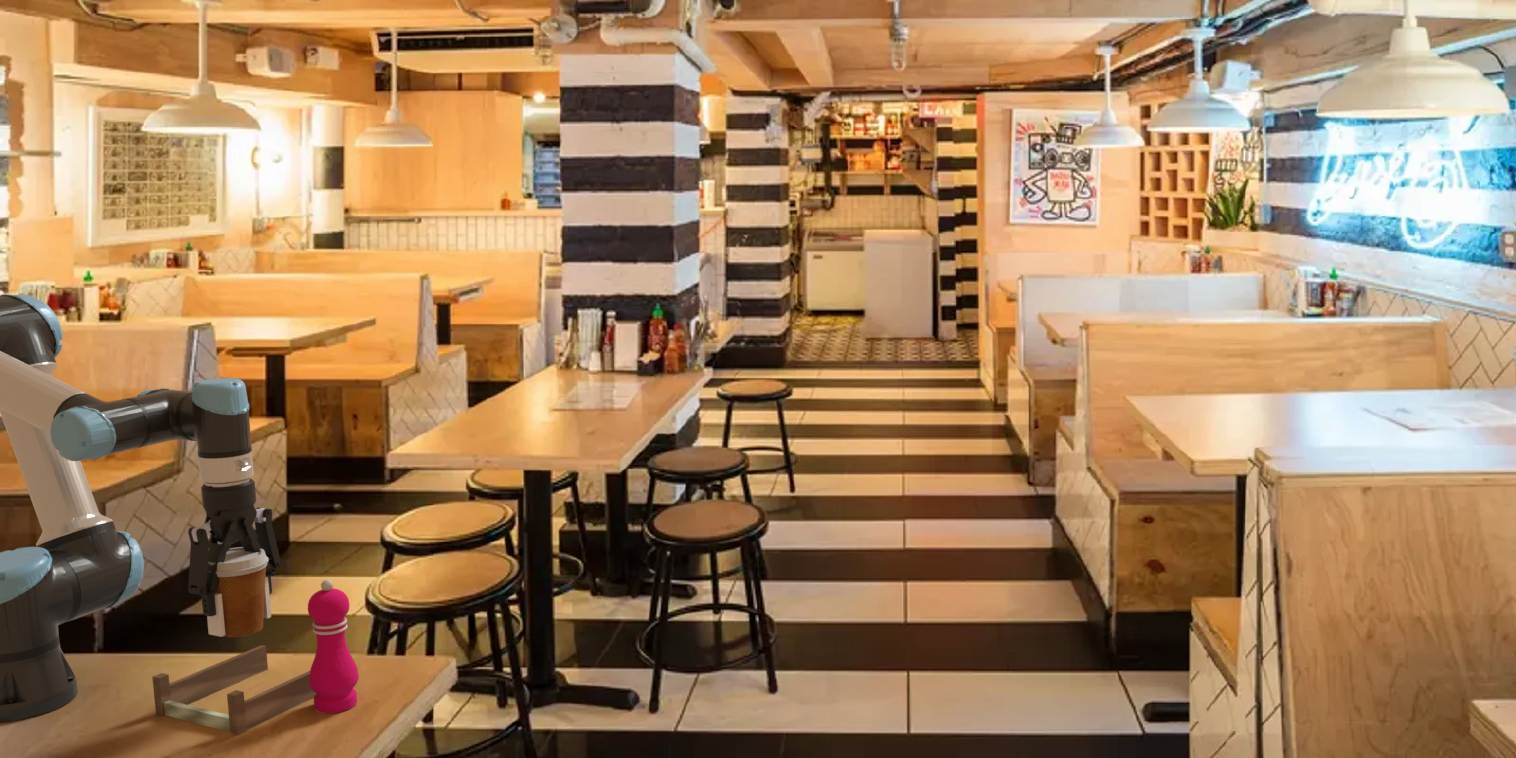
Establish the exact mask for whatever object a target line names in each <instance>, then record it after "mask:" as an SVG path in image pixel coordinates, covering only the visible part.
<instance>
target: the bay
mask: <svg viewBox="0 0 1516 758" xmlns="http://www.w3.org/2000/svg"><path fill="white" fill-rule="evenodd" d="M267 652H268V651H267V645H265V644H264V645H262V644H261V645H258V646H256V647H253V648H251V649H248V650H247V651H245V652H242V653H239V654H236V655H235V656H232V657H229V658H227V659H225V660H223V661H220V662H218V663H216V664H212V665H210V666H209V667H206V668H203V669H201V670H199V671H196V672H194V673H191V674H189V675H186V676H184V677H182V678H179V679H177V680H175V681H172V682H170V675H169V674H168V673H162V672H160V673H158V674H155V675H152V677H151V678H152V688H153V698H154V707H155V710H154V711H155V715H156V716H162V717H164V716H166V717H171V718H174V719H178V720H182V721H187V722H189V723H193V724H197V725H201V726H206V727H210V728H214V729H218V730H222V731H226V732H229V733H230V734H233V735H235V736H239V735H242V734H243V733H245V732H247V730H249V729H252V728H253V727H256V726H258V725H260V724H261V723H263V722H266V721H267V720H269V719H271V718H274V717H276V716H279V715H280V714H283V713H284V712H287V711H288V710H291V709H293V708H295V707H297V706H298V705H300V704H302V703H305V702H307V701H309V700H312V699H314V696H315V695H316V694H317V693H315V692H314V691H313V690H312V689H311V687H310V685H309V674H310V670H308V671H306V672H304V673H302V674H300V675H298V676H295V677H292V678H291V679H288V680H287V681H284V682H282V683H280V684H277V685H276V686H275V685H274V686H273V687H271V688H269V689H267V690H265V691H263V692H260V693H259V694H255V695H254V696H252V697H249V698H247V699H245V692H244V691H243V690H237V689H236V690H233V691H230V692H229V693H226V697H227V698H226V699H227V709H228V714H227V713H223V712H218V711H214V710H211V709H206V708H202V707H199V706H198V707H197V706H194V705H190V704H192V703H195V702H197V701H199V700H201V699H202V698H205V697H208V696H210V695H212V694H215V693H217V692H219V691H221V690H223V689H225V688H228V687H230V686H232V685H235V684H237V683H240V682H241V681H244V680H246V679H249V678H251V677H253V676H255V674H256V675H257V674H260V673H262V672H264V671H267V670H268V669H269V668H268V667H269V666H268V665H269V664H268V653H267ZM257 724H258V725H257ZM255 725H256V726H255Z"/></svg>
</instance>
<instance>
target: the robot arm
mask: <svg viewBox="0 0 1516 758" xmlns="http://www.w3.org/2000/svg"><path fill="white" fill-rule="evenodd" d="M63 339H64V334H63V329H62V325H61V324H60V321H59V318H58V317H57V315H56V314H55V312H54V311H53V309H52V308H51V307H50V306H49V305H48V304H47V303H45V302H44V301H43V300H41V299H38V298H37V297H35V296H34V295H28V294H9V293H8V294H7V293H6V294H5V293H4V294H0V416H1V419H2V422H3V424H4V427H5V430H6V433H7V436H8V439H9V443H10V444H11V448H12V450H13V453H14V456H15V459H16V461H17V464H18V467H19V469H20V472H21V476H22V478H23V480H24V483H25V486H26V489H27V493H28V494H29V497H30V500H31V503H32V506H33V508H34V511H35V514H36V516H37V520H38V523H39V525H40V529H41V530H42V532H41V534H40V536H39V538H38V539H37V540H38V541H37V542H36V543H35V545H36V546H25V547H24V546H23V547H17V548H16V549H14V550H9V549H8V550H4V551H1V552H0V722H1V723H2V722H11V721H16V720H23V719H28V718H32V717H36V716H40V715H43V714H46V713H49V712H52V711H55V710H56V709H59V708H62V707H63V706H65V705H67V704H68V703H70V702H72V701H73V700H74V699H75V698H76V696H77V695H78V683H77V677H76V675H75V674H74V671H73V669H72V668H71V666H70V663H69V661H68V659H67V658H66V656H65V654H64V652H63V651H62V648H61V643H60V636H59V635H60V634H59V626H60V625H62V624H64V623H67V622H70V621H73V620H77V619H79V618H82V617H85V616H87V615H90V614H93V613H95V612H99V611H101V610H105V609H106V610H107V609H109V608H112V607H115V605H117V604H120V603H122V602H124V601H127V600H128V599H130V598H131V597H132V596H133V595H134V594H135V593H136V592H137V591H138V589H139V587H140V584H141V581H142V580H143V577H144V571H145V561H144V555H143V551H142V549H141V546H140V545H139V543H138V541H137V539H135V538H133V537H132V535H131V534H130V533H128V532H126V531H123V530H117V529H116V526H115V525H116V524H115V522H114V520H113V519H112V518H110V517H108V516H105V515H103V514H101V513H100V511H99V508H98V506H97V503H96V501H95V497H94V495H93V493H92V489H91V486H90V483H89V481H88V478H87V475H86V472H85V470H84V466H83V464H82V461H85V460H86V461H87V460H90V461H91V460H97V459H101V458H103V457H107V456H109V455H110V456H111V455H115V454H119V453H124V452H126V451H130V450H135V449H140V448H145V447H149V446H152V445H157V444H161V443H165V442H166V443H167V442H169V441H188V442H189V441H191V442H192V441H193V442H196V445H197V458H198V471H199V481H200V482H201V483H203V484H202V486H200V489H201V491H200V492H201V499H202V503H201V504H202V507H203V509H204V511H205V515H206V516H205V520H204V524H201V525H200V526H197V527H193V526H191V527H189V528H188V530H187V534H188V538H189V541H190V552H189V569H188V570H189V571H188V586H187V587H188V589H187V591H188V593H190V594H195V595H199V596H201V606H202V613H203V615H204V616H206V618H207V620H206V621H207V629H208V631H207V632H208V635H210V636H215V637H220V638H221V637H222V638H223V637H224V636H225V625H224V614H223V603H222V594H221V593H216V592H217V588H218V584H219V577H217V574H216V572H217V564H218V563H224V561H225V557H226V553H227V551H228V550H229V549H230V548H232V547H231V545H232V544H233V543H235V542H237V541H238V542H240V545H241V547H243V548H244V550H245V551H249V552H255V553H256V552H259V551H260V549H263V550H264V551H265V554H266V556H267V557H268V559H269V561H268V562H267V566H266V575H265V596H264V616H263V619H270V618H271V617H272V609H271V596H270V595H272V593H273V587H272V577H274V576H275V575H276V574H277V570H276V569H280V568H281V567H282V561H281V556H280V553H279V548H278V544H277V539H276V535H275V531H274V527H273V509H272V508H264V507H255V504H256V502H257V494H256V492H257V491H256V482H255V481H254V480H253V479H252V478H253V477H254V476H255V471H254V460H253V449H252V448H253V447H252V434H251V425H250V403H249V400H248V399H249V398H248V394H247V387H246V384H245V382H244V381H243V380H242V379H239V378H237V377H226V378H225V377H223V378H222V377H217V378H206V379H202V380H198V381H196V382H194V383H193V384H192V387H191V388H192V389H191V390H189V391H188V390H177V389H169V388H164V387H163V388H162V387H161V388H159V389H147V390H144V391H142V392H140V393H139V394H137V395H136V396H133V397H129V398H122V399H117V400H112V401H104V400H102V399H100V398H99V397H95V396H92V395H91V394H89V393H87V392H84V391H83V390H80V389H79V388H76V387H74V386H72V385H70V384H69V383H66V382H65V381H63V380H61V379H59V378H56V377H54V376H52V375H53V374H54V372H55V370H56V369H57V367H58V364H57V361H56V359H55V358H56V357H57V356H59V354H60V353H61V350H62V348H63V342H61V340H63ZM253 525H254V526H253ZM254 527H255V528H254ZM208 562H212V563H215V564H214V565H209V563H208ZM208 571H209V572H208ZM208 586H209V587H208Z"/></svg>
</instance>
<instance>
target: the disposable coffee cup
mask: <svg viewBox="0 0 1516 758" xmlns="http://www.w3.org/2000/svg"><path fill="white" fill-rule="evenodd" d="M268 561H269V559H268V557H267V556H266V554H265V551H264V550H263V549H260V551H259V552H256V553H255V552H249V551H245V550H244V548H243V546H239V547H230V549H229V550H228V551H227V553H226V557H225V561H224V563H218V564H217V572H216V574H217V577H219V584H218V588H217V592H216V593H221V594H222V603H223V614H224V625H225V636H223V637H225V638H238V637H240V638H241V637H246V636H249V635H253V634H257V633H259V632H260V631H262V630H263V628H264V618H263V616H264V596H265V575H266V566H267V562H268ZM208 563H209V565H214V564H215V563H212V562H208ZM208 572H209V571H208ZM208 587H209V586H208Z"/></svg>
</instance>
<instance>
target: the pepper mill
mask: <svg viewBox="0 0 1516 758" xmlns="http://www.w3.org/2000/svg"><path fill="white" fill-rule="evenodd" d="M320 588H321V589H320V590H317V591H316V592H315V593H313V595H311V597H310V598H309V599H308V602H307V612H308V615H309V617H310V618H311V619H312V620H313V622H312V625H311V626H312V627H313V628H312V631H313V633H314V634H316V635H315V636H316V652H315V655H314V658H313V660H312V661H313V662H312V664H311V667H310V670H309V671H310V674H309V685H310V687H311V689H312V690H313V691H314V692H315V693H317V694H316V695H315V696H314V697H313V706H314V709H315V711H317V712H319V713H321V714H322V713H323V714H337V713H341V712H345V710H346V711H348V710H351V709H352V708H354V707H355V706H356V705H357V703H358V695H357V690H356V689H355V688H354V687H356V685H357V683H358V681H359V680H360V679H359V678H360V676H359V669H358V666H357V664H356V661H355V660H354V658H353V656H352V655H351V652H350V650H349V648H348V645H347V641H346V630H347V628H349V627H348V618H347V617H346V615H348V613H349V610H350V600H349V598H348V595H347V594H346V593H345V592H344V591H343V590H340V589H338V588H334V582H333V581H332V580H331V579H324V580H323V581H322V582H321V583H320ZM353 706H354V707H353Z"/></svg>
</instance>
